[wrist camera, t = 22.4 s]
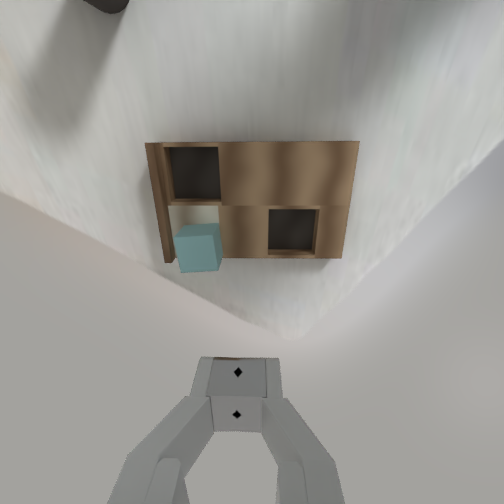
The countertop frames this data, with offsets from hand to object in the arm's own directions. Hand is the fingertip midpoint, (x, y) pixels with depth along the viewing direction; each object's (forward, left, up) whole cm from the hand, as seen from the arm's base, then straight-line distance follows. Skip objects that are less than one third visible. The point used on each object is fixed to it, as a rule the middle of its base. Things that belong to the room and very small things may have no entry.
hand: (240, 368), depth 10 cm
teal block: (+7, +5, -27) cm, 28 cm away
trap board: (0, 0, -29) cm, 29 cm away
